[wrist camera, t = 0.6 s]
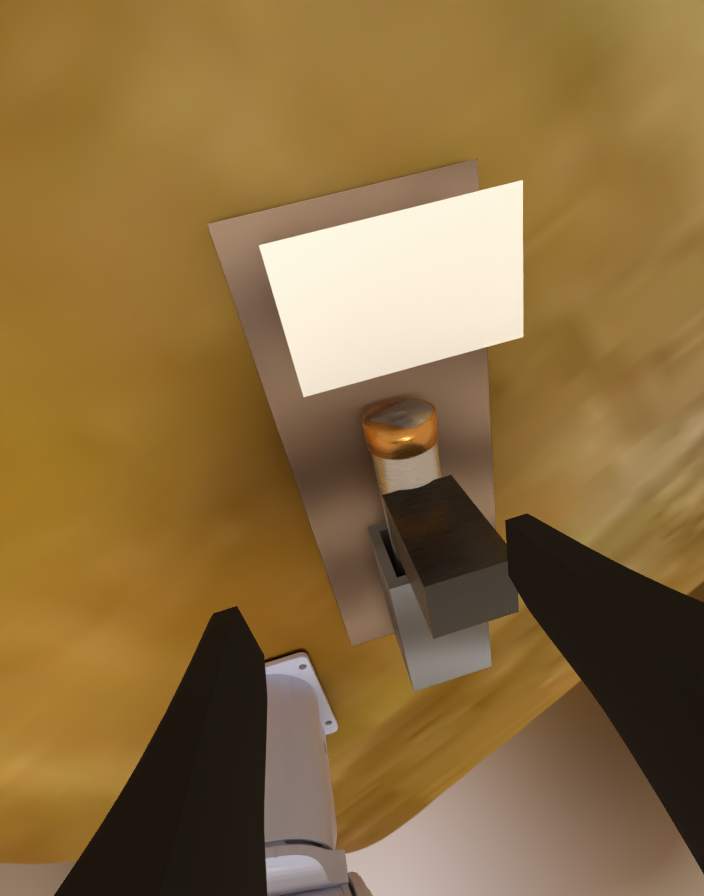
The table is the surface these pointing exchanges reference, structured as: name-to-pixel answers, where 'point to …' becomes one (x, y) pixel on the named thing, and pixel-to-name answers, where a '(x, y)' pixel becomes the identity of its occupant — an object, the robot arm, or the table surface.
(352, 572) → the track base
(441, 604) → the dark grey angular piece
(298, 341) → the socket block
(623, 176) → the table surface
